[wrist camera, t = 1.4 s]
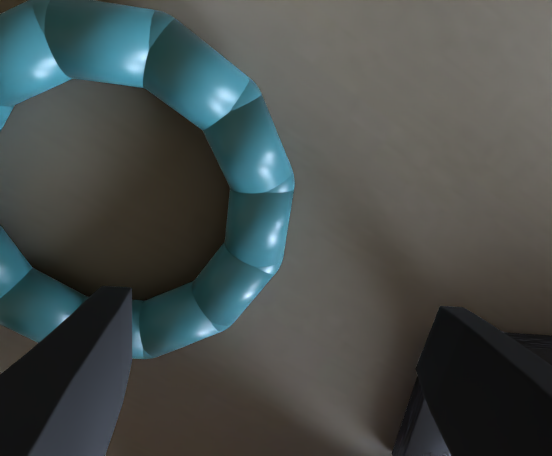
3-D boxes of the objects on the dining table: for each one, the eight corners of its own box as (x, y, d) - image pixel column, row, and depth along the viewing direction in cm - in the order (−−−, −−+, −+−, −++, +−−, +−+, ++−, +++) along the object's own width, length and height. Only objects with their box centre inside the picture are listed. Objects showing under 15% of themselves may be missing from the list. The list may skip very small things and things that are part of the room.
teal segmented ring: (265, 341, 21) (268, 377, 19) (-39, 324, 19) (-77, 361, 17) (312, 37, 16) (324, 33, 13) (-101, -28, 14) (-169, -44, 11)
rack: (528, 456, 26) (628, 594, 19) (391, 453, 25) (447, 599, 18) (589, 337, 22) (735, 456, 16) (433, 327, 21) (520, 450, 15)
